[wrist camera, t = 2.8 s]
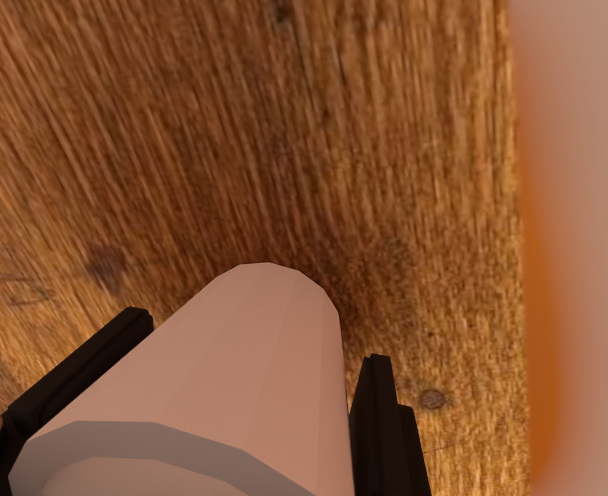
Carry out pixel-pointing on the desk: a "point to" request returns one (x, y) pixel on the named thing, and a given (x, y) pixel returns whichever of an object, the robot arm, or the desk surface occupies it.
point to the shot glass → (211, 403)
